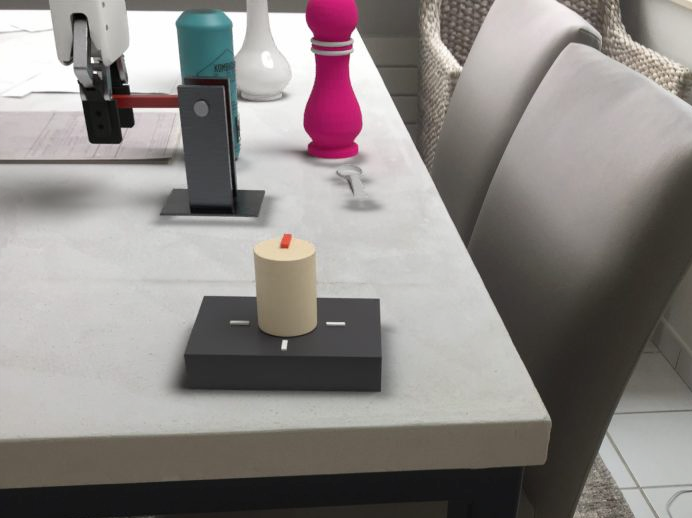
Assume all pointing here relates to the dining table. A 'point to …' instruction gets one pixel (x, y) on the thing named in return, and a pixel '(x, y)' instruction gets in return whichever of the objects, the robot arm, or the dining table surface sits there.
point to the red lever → (146, 101)
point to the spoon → (354, 180)
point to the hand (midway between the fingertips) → (112, 133)
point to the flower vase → (260, 58)
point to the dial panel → (285, 348)
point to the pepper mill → (332, 81)
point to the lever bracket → (209, 154)
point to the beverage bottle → (209, 52)
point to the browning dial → (286, 286)
